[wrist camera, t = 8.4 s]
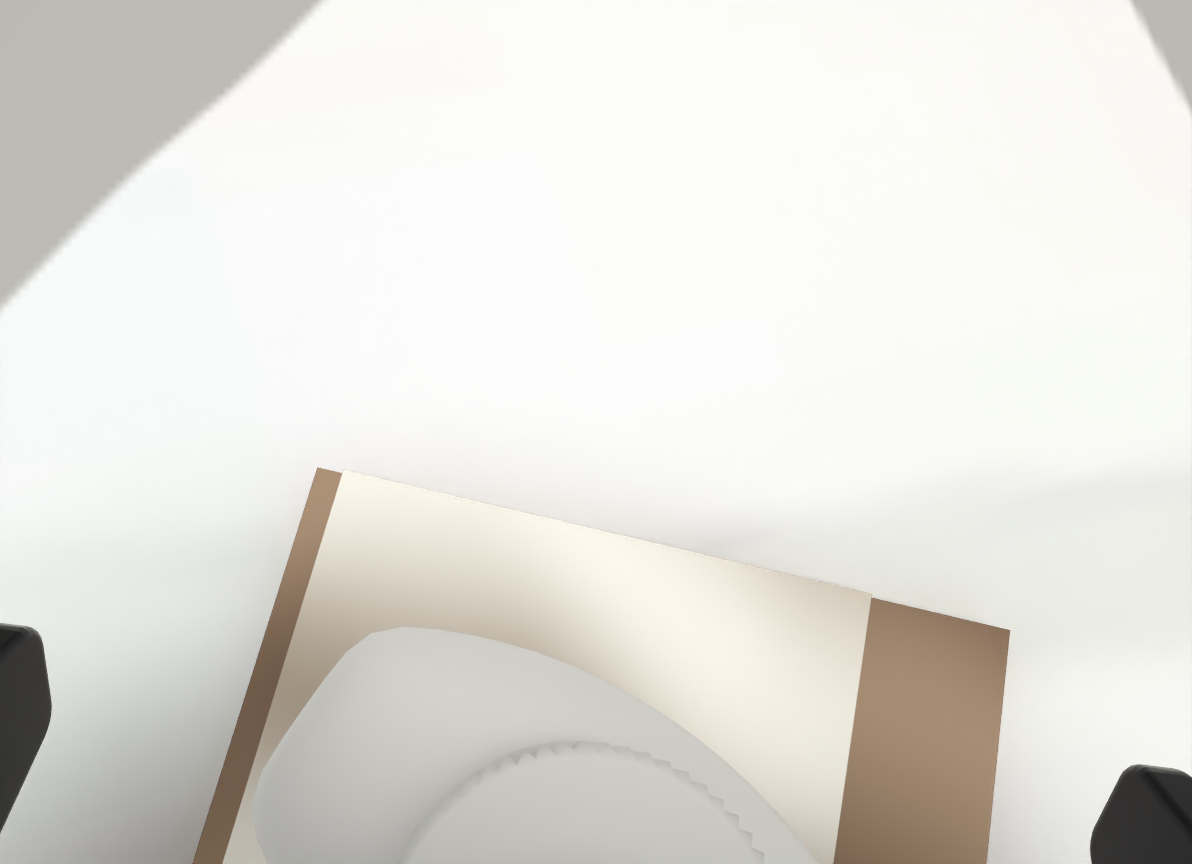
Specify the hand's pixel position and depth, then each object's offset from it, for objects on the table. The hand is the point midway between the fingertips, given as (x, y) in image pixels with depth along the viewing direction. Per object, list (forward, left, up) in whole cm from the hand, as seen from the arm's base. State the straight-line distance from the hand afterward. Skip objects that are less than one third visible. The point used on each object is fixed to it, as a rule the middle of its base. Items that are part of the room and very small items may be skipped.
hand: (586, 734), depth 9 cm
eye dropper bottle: (-1, 0, -8) cm, 8 cm away
